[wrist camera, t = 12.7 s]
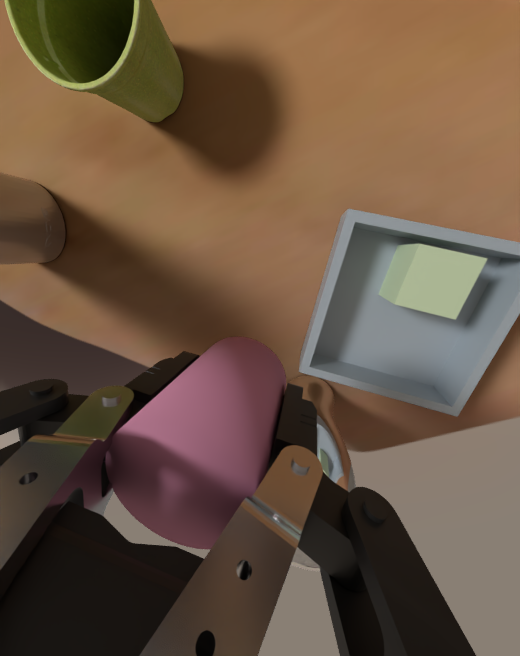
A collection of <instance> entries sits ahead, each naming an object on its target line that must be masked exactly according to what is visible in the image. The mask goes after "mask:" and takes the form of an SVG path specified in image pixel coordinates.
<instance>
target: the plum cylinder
mask: <svg viewBox="0 0 520 656" xmlns="http://www.w3.org/2000/svg"><path fill="white" fill-rule="evenodd" d="M285 389H286V375H285V371H284V368H283V366H282V364H281V362H280V360H279V359H278V357H277V356H276V355H275V354H274V353H273V351H272V350H270V349H269V348H268V347H267V346H265V345H264V344H262V343H260V342H258V341H256V340H253V339H251V338H246V337H229V338H225V339H222V340H220V341H218V342H216V343H215V344H213V345H212V346H211V347H210V348H209V349H208V350H207V351H206V352H204V353H203V354H202V355H201V356H200V357H199V358H198V359H197V360H196V361H194V362H193V363H192V364H191V365H190V366H189V367H188V368H187V369H186V370H185V371H183V372H182V373H181V374H180V375H179V376H178V377H177V378H176V379H175V380H173V381H172V382H171V383H170V384H169V385H168V386H167V387H166V388H165V389H163V390H162V391H161V392H160V393H159V394H158V395H157V396H156V397H155V398H153V399H152V400H151V401H150V402H149V403H148V404H147V405H146V406H145V407H143V408H142V409H141V410H140V411H139V412H138V413H137V414H136V415H135V416H133V417H132V418H131V419H130V420H129V421H128V422H127V423H126V424H125V425H123V426H122V427H121V428H120V429H119V430H118V431H117V432H116V433H115V434H114V435H113V437H112V445H111V446H110V448H109V450H108V451H107V453H106V457H105V464H106V471H107V476H108V479H109V481H110V482H111V483H112V488H113V490H114V492H115V494H116V495H117V497H118V498H119V500H120V501H121V503H122V504H123V505H124V507H125V508H126V509H127V510H128V511H129V512H130V513H131V514H132V515H133V516H134V517H135V518H136V519H137V520H138V521H139V522H140V523H142V524H143V525H144V526H146V527H147V528H148V529H150V530H151V531H153V532H155V533H156V534H158V535H160V536H161V537H163V538H166V539H168V540H170V541H172V542H175V543H178V544H180V545H184V546H187V547H192V548H197V549H211V548H212V547H213V545H214V544H215V542H216V541H217V539H218V538H219V536H220V535H221V533H222V532H223V530H224V529H225V527H226V526H227V524H228V523H229V521H230V520H231V518H232V517H233V515H234V514H235V512H236V511H237V509H238V508H239V506H240V505H241V503H242V502H243V501H244V499H245V498H246V497H247V496H250V497H252V496H253V494H254V493H255V491H256V490H257V488H258V487H259V485H260V483H261V482H262V480H263V479H264V477H265V476H266V474H267V470H268V466H269V461H270V456H271V452H272V447H273V443H274V438H275V434H276V429H277V425H278V420H279V416H280V411H281V407H282V402H283V398H284V393H285Z"/></svg>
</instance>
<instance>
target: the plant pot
mask: <svg viewBox="0 0 520 656" xmlns="http://www.w3.org/2000/svg"><path fill="white" fill-rule="evenodd" d="M5 5H6V9H7V13H8V16H9V19H10V22H11V25H12V27H13V30H14V32H15V34H16V37H17V39H18V41H19V42H20V44H21V46H22V48H23V50H24V51H25V53H26V54H27V56H28V57H29V58H30V60H31V61H32V62H33V63H34V65H35V66H36V67H37V68H38V69H39V70H40V71H41V72H42V73H43V74H44V75H45V76H46V77H48V78H49V79H50V80H52V81H53V82H55V83H57V84H59V85H60V86H63V87H65V88H67V89H70V90H74V91H80V92H89V93H93V94H97V95H99V96H101V97H103V98H105V99H107V100H108V101H110V102H112V103H114V104H116V105H118V106H120V107H122V108H124V109H126V110H128V111H129V112H131V113H133V114H135V115H137V116H138V117H140V118H142V119H144V120H146V121H150V122H160V121H162V120H163V119H164V118H166V117H167V116H169V115H170V114H172V113H174V112H175V110H176V109H177V107H178V105H179V103H180V101H181V98H182V94H183V85H184V79H183V71H182V68H181V64H180V61H179V58H178V56H177V54H176V52H175V49H174V47H173V45H172V43H171V41H170V39H169V37H168V35H167V33H166V31H165V29H164V27H163V25H162V22H161V20H160V18H159V16H158V14H157V12H156V10H155V8H154V5H153V3H152V1H151V0H5Z"/></svg>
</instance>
